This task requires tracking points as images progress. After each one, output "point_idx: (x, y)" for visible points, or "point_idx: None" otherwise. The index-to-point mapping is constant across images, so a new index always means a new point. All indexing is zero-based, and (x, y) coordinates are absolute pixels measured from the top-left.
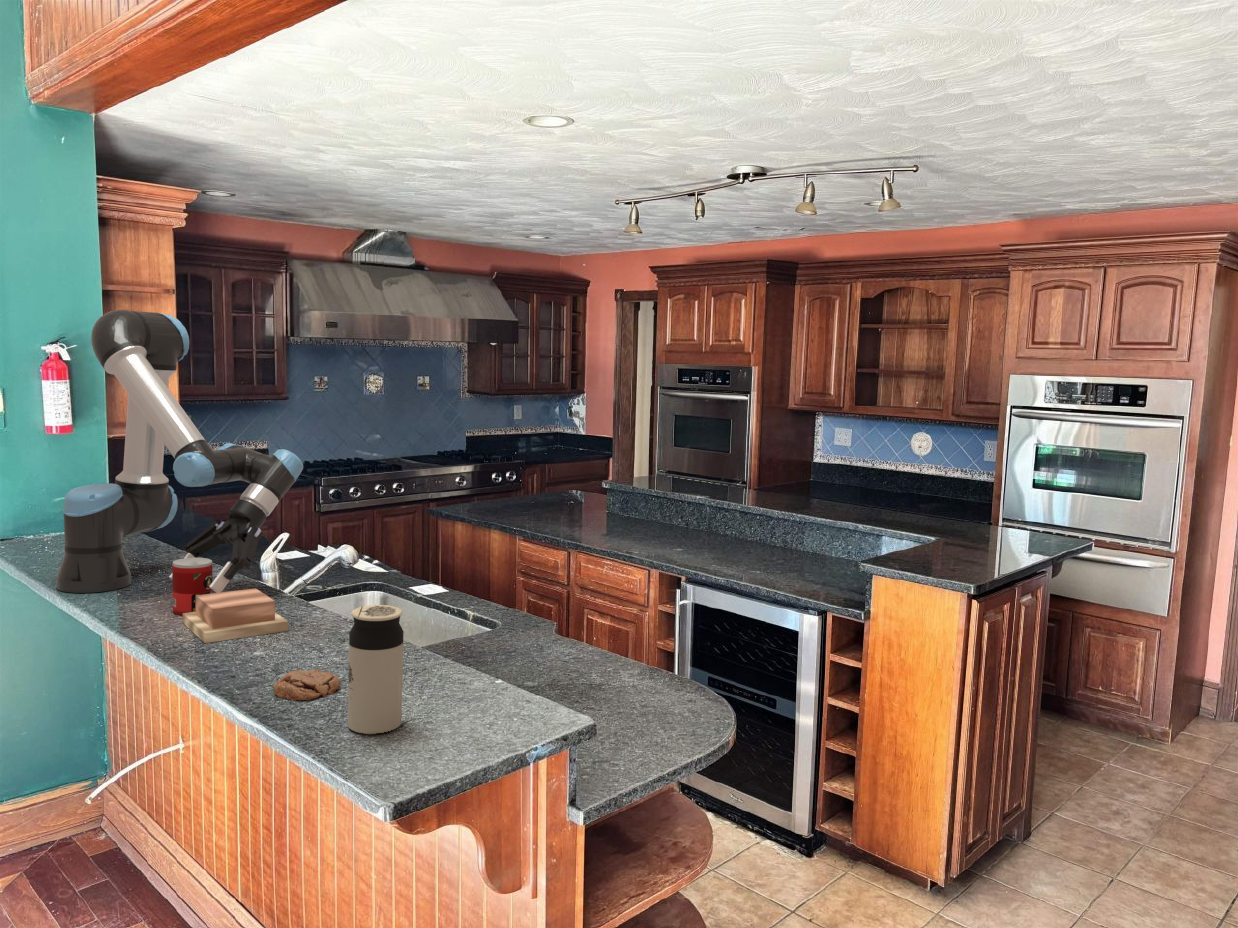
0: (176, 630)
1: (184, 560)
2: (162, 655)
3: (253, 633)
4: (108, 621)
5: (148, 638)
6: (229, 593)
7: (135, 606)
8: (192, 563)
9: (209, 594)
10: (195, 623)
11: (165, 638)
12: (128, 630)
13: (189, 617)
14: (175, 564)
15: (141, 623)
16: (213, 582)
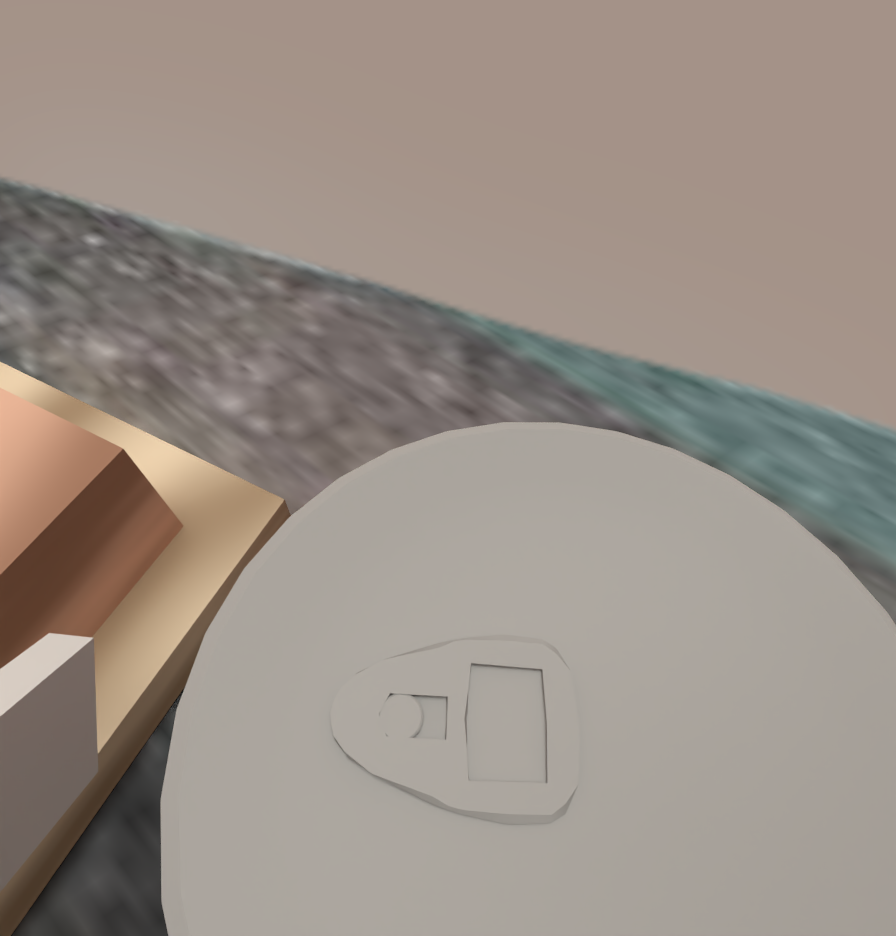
0: (219, 422)
1: (868, 781)
2: (35, 204)
3: None
4: (635, 377)
5: (250, 299)
6: None
7: None
8: (538, 701)
9: (9, 530)
10: (50, 394)
11: (177, 325)
12: (428, 333)
13: (172, 459)
14: (600, 433)
15: (481, 422)
16: (23, 672)
